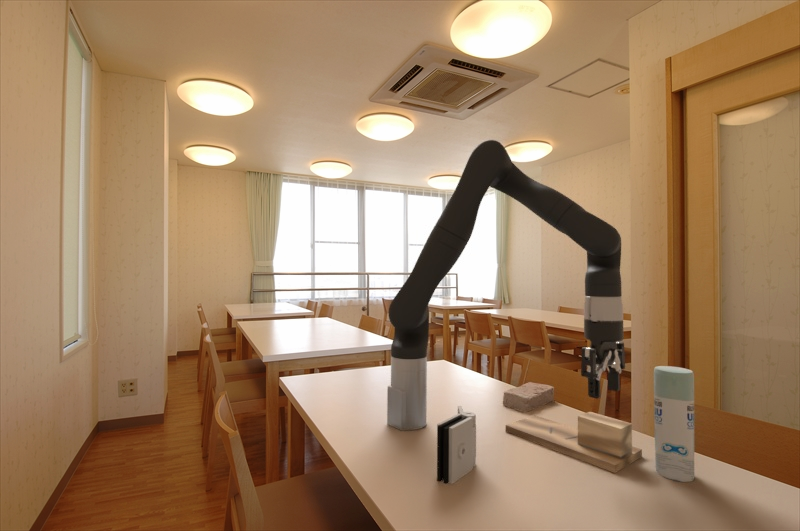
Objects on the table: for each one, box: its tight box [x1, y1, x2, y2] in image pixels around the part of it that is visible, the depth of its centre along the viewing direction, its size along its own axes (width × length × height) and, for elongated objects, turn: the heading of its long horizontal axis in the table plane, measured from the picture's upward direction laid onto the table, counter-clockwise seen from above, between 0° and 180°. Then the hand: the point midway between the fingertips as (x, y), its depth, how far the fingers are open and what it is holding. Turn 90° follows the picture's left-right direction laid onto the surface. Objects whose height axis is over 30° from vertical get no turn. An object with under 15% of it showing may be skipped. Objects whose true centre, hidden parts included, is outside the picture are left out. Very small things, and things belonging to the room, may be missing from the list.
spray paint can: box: [653, 365, 695, 483], centre depth 78 cm, size 6×6×20 cm
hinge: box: [436, 405, 477, 485], centre depth 80 cm, size 14×5×10 cm, turn 153°
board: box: [505, 415, 643, 474], centre depth 92 cm, size 12×26×2 cm, turn 37°
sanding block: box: [577, 411, 633, 459], centre depth 86 cm, size 5×9×6 cm, turn 37°
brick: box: [502, 381, 555, 413], centre depth 122 cm, size 17×8×5 cm, turn 133°
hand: (604, 393), depth 86 cm, fingers open, 8 cm apart
